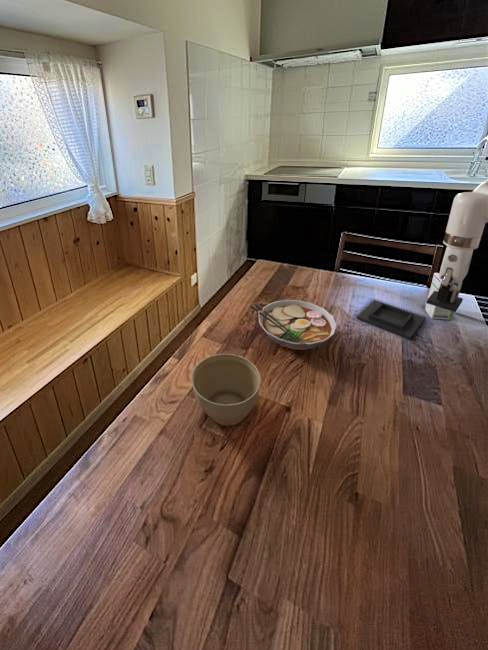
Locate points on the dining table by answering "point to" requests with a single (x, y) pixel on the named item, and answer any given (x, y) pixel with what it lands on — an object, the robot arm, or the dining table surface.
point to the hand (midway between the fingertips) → (445, 297)
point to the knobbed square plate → (450, 306)
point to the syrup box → (434, 310)
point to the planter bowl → (226, 387)
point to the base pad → (391, 319)
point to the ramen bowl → (296, 323)
